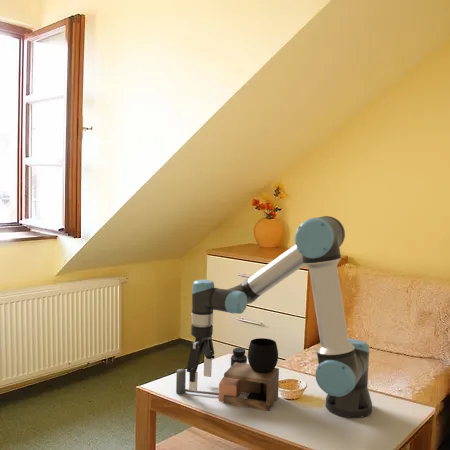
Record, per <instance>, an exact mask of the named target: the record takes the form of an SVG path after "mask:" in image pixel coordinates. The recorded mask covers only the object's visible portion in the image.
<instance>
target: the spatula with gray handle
mask: <svg viewBox="0 0 450 450" xmlns="http://www.w3.org/2000/svg"><path fill="white" fill-rule="evenodd" d="M186 372H187V369H184V368H179V369H177V370H176V375H175V377H176V378H175V379H176V380H175V381H176V382H175V383H176V384H175V386H176V387H175V388H176V391H175V393H176V395H185V394H186V393H195V394H203V395H211V396H218V401H219V402H223V401H224V395H228V396H234V397H240V394H241V392H240V380H238V379H232V378H225V377H224V376H223V377H222V378H221V380H220V382H219V384H218V392H213V391H205V390H204V391H203V390H197V391H193V390H189V388H188V389H187V388H186V374H187V373H186Z"/></svg>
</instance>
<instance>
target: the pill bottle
mask: <svg viewBox="0 0 450 450" xmlns="http://www.w3.org/2000/svg"><path fill="white" fill-rule="evenodd" d="M245 354H246V349H245V348H242V347H235V348H233V349H232V355H231V356H230V367H231V366H232V365H233V364H234V363H235V362H236V363H244V364H248V356H247V355H245Z"/></svg>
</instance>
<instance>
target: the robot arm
mask: <svg viewBox="0 0 450 450" xmlns="http://www.w3.org/2000/svg"><path fill="white" fill-rule="evenodd" d="M345 239H346V231H345V227H344V225H343V224H342V222H341V221H340V220H339V219H337V218H336V217H333V216H329V215H324V216H323V215H322V216H320V217H312V218H308V219H307V220H305V221H303V222H302V223H300V225H299V226H298V227H297V229H296V232H295V235H294V245H292V246H291V247H290V248H288V249H287V250H286V251H284V252H283V253H281V254H280V255H278V257H276V258H275V259H273V260H272V261H270V262H269V263H267V264H266V265H265V266H263V267H262V268H261V269H259V270H258V271H257V272H255V273H254V274H252V275H251V276H250V277H248V278H247V279H245V280H243V282H241V283H240V284H238V285H236V286H233V287H230V288H228V289H227V288H226V289H225V288H218V287H215V282H214V281H213V280H210V279H197V280H194V281H193V283H192V292H191V296H192V297H191V313H190V316H191V326H190V327H191V329H190V333H191V334H190V335H191V336H192V337H194V339H195V340H194V342H190V351H189V356H188V362H187V367H186V372H188V374H189V376H188V378H189V379H188V390H193V391H198V380H199V379H198V373H199V372H198V367H199V363H200V359H201V356H202V355H204V357H205V358H203V376H204V377H209V378H211V377H212V369H213V368H212V363H213V362H212V360H214V359H215V350H214V344H213V332H214V329H213V328H214V326H213V324H214V311H218V312H225V313H230V314H239V315H240V314H243V313H245V310H246V309H247V305H249V304H252V303H253V302H255V301H256V300H257V299H258V298H259V297H261V296H262V295H264V294H265V293H266V292H268V291H269V290H271V289H272V288H274V287H275V286H276V285H278V284H279V283H281V282H282V281H284V280H285V279H287V278H288V277H289V276H291V275H292V274H294V273H295V272H296V271H299V269H301V268H302V267H306V268H308V271H309V277H310V282H311V283H310V284H311V290H312V291H311V292H312V298H313V305H314V311H315V315H316V316H315V317H316V323H317V329H318V337H319V343H320V345H319V347H317V348H316V356H317V361H318V362H317V363H318V365H317V367H316V370H315V381H316V384H317V385H318V387H319V388H320V389H321V390H322V391H323V392H325V393H326V397H325V408H326V409H327V410H328V411H329V412H330V413H332V414H335V415H337V416H341V417H345V418H351V419H352V418H354V419H355V418H365V417H367V416H369V415H371V414H372V412H373V402H372V398H371V395H370V391H369V387H368V384H369V383H368V382H369V381H368V380H369V366H370V365H369V360H370V353H371V352H370V345H369V344H368V343H367V342H366V341H364V340H361V339H356V338H350V337H349V335H348V329H347V322H346V321H347V320H346V315H345V309H344V303H343V295H342V287H341V282H340V275H339V269H338V264H339V263H340V261H341V260H342V257H341V248H340V247H341V246H342V245H343V244H344V241H345Z"/></svg>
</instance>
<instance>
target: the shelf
mask: <svg viewBox="0 0 450 450" xmlns="http://www.w3.org/2000/svg"><path fill="white" fill-rule="evenodd" d="M223 377H225V378H232V379H238V380H240V394H247V395H248V394H250V393H260V390H261V383H264V394H266V402H265V401H259V400H252V399H247V397H240V396H239V397H234V396H228V395H224V401H222V403H223V404H224V405H225V404H227V405H232V406H238V407H244V408H249V409H256V410H261V411H267V412H270V411H271V410H272V408H273V406H274V404H275V403H276V402H275V400H276V399H278V398H279V386H280V385H279V383H280V382H279V381H280V380H279V379H280V378H279V377H280V368H279V367H275V368H274V369H273V370H272V371H271V372H269V373H258V372H255V371H254V370H253V369H252V368H251V366H250V364H249V363H247V364H244V363H236V362H235V363H234V364H233V365H232V366H231V365H230V367H229V368H228V369H227V370H226V371H225V372H224V373H223ZM276 401H277V400H276Z"/></svg>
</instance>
